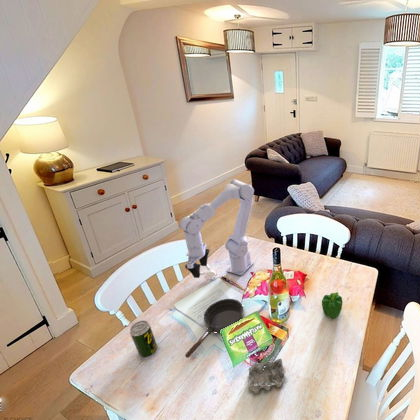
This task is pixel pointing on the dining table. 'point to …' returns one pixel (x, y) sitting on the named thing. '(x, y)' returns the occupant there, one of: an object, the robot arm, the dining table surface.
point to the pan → (223, 314)
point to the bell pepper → (332, 305)
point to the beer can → (143, 339)
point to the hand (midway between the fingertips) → (200, 271)
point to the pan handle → (199, 342)
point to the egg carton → (266, 375)
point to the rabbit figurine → (209, 273)
